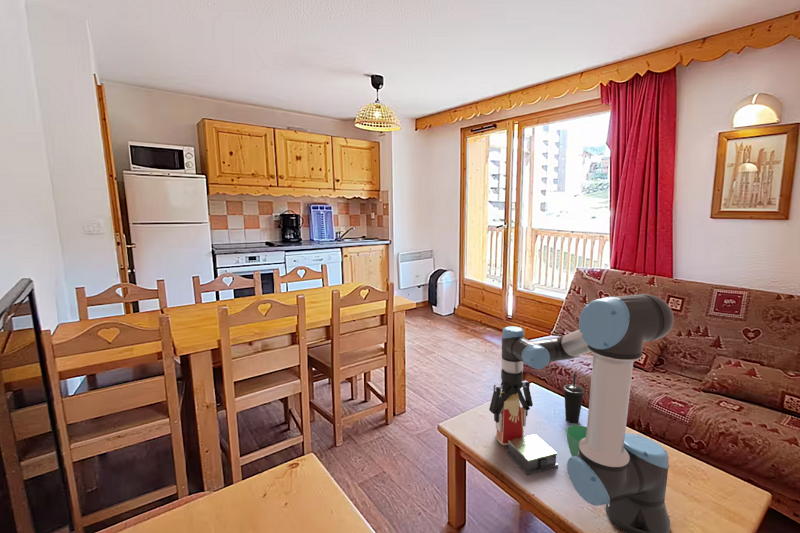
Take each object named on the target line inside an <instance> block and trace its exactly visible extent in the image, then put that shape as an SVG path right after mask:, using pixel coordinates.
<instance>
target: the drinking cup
mask: <svg viewBox="0 0 800 533" xmlns="http://www.w3.org/2000/svg"><path fill="white" fill-rule="evenodd" d="M576 375H577V374H576V373H573V379H572V380H573V382H572V383H571V384H570V383H569V384H568V383H567V384H565V385H563V391H564V392H563V393H564V407H565V408H564V411H565V412H564V413H565V420H566V421H567V422H568V423H570V424H578V423H579V421H580V416H581V411H582V410H581V409H582V403H583V398H584V393H585V389H584V388H583V387H582V386H580V385H577V384H576V377H577V376H576Z"/></svg>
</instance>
